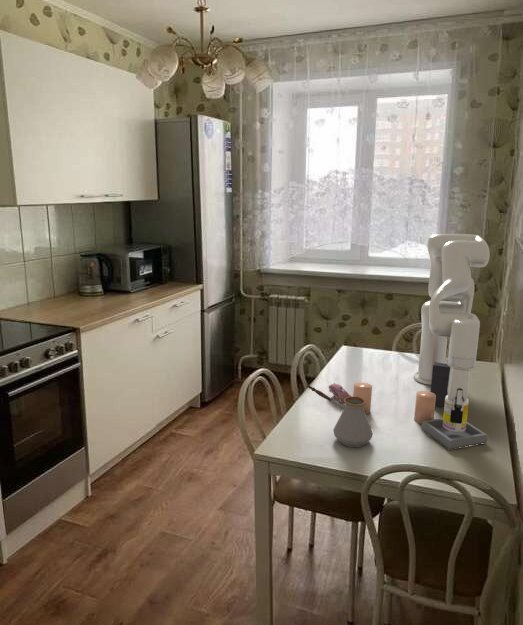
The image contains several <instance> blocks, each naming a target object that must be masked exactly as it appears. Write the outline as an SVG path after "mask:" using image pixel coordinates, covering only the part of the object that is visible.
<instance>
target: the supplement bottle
mask: <svg viewBox="0 0 523 625" xmlns="http://www.w3.org/2000/svg"><path fill="white" fill-rule="evenodd" d="M455 400H457V398H455ZM456 403H457V402H455V404H456ZM469 405H470V399H469V398H468V397H467V398H466V401H465V402H463V416H462V423H461V424H459V423H452V422H450V416H451V409H452V407H453V400H449V399H448V395H447V396H446V397H445V405H444V408H443V416H442V418H443V427H444V428H445V429H446V430H448V431H451V432H463V431H465V430H466V425H467V422H468V416H469V415H468V414H469Z"/></svg>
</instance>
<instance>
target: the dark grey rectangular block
mask: <svg viewBox="0 0 523 625" xmlns="http://www.w3.org/2000/svg"><path fill="white" fill-rule="evenodd" d="M449 374H450V366H448V364H447V363H445V364H444V363H438V362H435V363H434V365H433V370H432V382H431V385H430V392H432V393H434V394H435V395H436V402H435V407H436V406H437V408H442V407H443V409H444V405H445V397H446V396H447V395H448V392H447V389H448V382H449Z"/></svg>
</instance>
